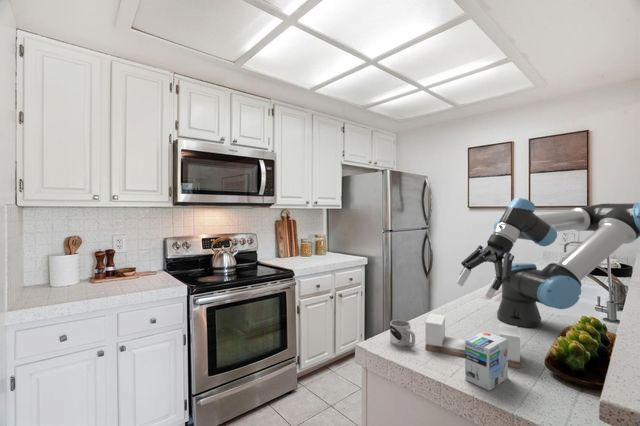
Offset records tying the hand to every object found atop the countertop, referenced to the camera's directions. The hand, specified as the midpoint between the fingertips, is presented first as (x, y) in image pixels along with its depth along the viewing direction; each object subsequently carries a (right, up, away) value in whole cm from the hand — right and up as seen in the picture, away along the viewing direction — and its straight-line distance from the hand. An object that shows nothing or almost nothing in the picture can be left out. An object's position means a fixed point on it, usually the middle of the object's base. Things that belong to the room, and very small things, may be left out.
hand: (472, 290), depth 107 cm
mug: (-24, -18, -2) cm, 30 cm away
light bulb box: (-8, -18, -23) cm, 31 cm away
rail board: (-5, -17, -8) cm, 20 cm away
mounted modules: (-5, -16, -8) cm, 18 cm away
